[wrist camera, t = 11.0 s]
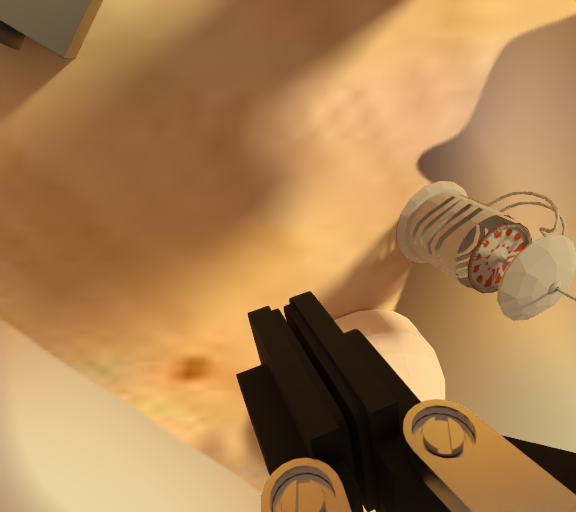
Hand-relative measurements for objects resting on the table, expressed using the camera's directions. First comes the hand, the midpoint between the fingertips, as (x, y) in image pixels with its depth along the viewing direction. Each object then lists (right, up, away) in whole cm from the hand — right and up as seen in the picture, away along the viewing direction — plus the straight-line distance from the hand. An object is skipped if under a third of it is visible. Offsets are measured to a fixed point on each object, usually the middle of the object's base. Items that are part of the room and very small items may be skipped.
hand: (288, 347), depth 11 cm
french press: (+17, +7, +36) cm, 40 cm away
